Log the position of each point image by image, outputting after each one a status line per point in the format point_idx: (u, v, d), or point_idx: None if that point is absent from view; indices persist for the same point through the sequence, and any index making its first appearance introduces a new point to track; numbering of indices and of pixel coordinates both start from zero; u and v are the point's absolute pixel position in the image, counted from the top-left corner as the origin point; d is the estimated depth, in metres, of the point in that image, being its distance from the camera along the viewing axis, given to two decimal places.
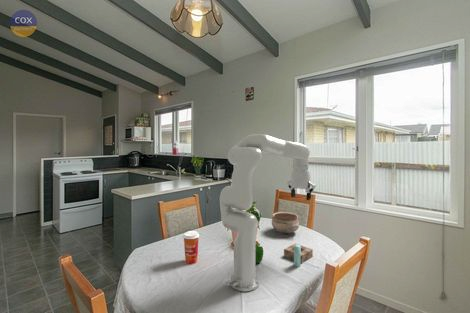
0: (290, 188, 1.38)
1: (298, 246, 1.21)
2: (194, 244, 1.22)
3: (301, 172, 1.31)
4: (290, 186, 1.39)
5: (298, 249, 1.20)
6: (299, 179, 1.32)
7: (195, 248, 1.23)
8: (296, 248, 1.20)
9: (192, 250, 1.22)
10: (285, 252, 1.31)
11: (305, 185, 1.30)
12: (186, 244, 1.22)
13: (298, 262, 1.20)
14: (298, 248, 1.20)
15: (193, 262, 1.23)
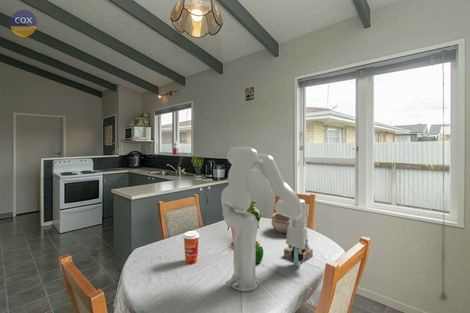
0: (290, 249, 1.23)
1: None
2: (194, 244, 1.22)
3: (298, 230, 1.18)
4: (290, 245, 1.23)
5: (298, 249, 1.20)
6: (295, 237, 1.19)
7: (195, 248, 1.23)
8: (296, 248, 1.20)
9: (192, 250, 1.22)
10: (285, 252, 1.31)
11: (302, 245, 1.16)
12: (186, 244, 1.22)
13: (298, 262, 1.20)
14: (298, 248, 1.20)
15: (193, 262, 1.23)
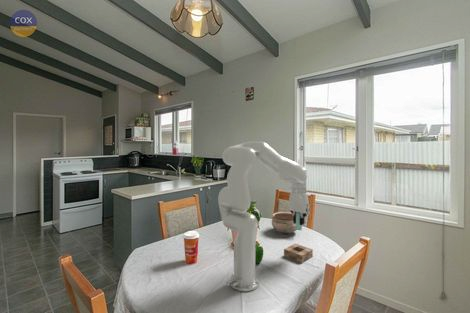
0: (292, 214, 1.32)
1: None
2: (194, 244, 1.22)
3: (299, 195, 1.27)
4: (292, 211, 1.32)
5: (300, 214, 1.29)
6: (297, 202, 1.27)
7: (195, 248, 1.23)
8: (298, 213, 1.29)
9: (192, 250, 1.22)
10: (285, 252, 1.31)
11: (303, 209, 1.25)
12: (186, 244, 1.22)
13: (300, 226, 1.29)
14: None
15: (193, 262, 1.23)
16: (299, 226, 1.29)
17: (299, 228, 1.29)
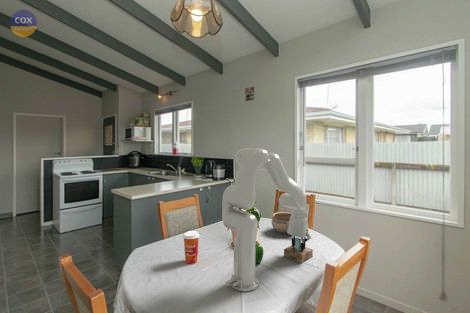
0: None
1: (299, 238, 1.31)
2: (194, 244, 1.22)
3: (299, 220, 1.27)
4: None
5: (299, 241, 1.30)
6: (297, 227, 1.28)
7: (195, 248, 1.23)
8: (297, 240, 1.30)
9: (192, 250, 1.22)
10: (285, 252, 1.31)
11: (303, 234, 1.26)
12: (186, 244, 1.22)
13: None
14: (299, 240, 1.30)
15: (193, 262, 1.23)
16: None
17: None
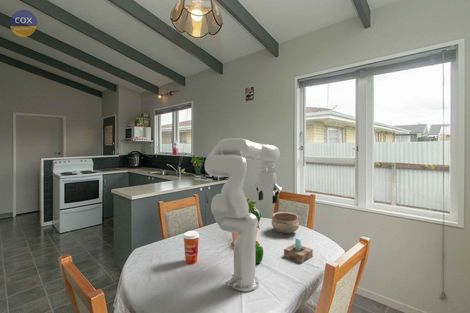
0: None
1: (299, 238, 1.31)
2: (194, 244, 1.22)
3: (267, 174, 1.27)
4: (258, 189, 1.34)
5: (299, 241, 1.30)
6: (265, 182, 1.28)
7: (195, 248, 1.23)
8: (297, 240, 1.30)
9: (192, 250, 1.22)
10: (285, 252, 1.31)
11: (271, 188, 1.25)
12: (186, 244, 1.22)
13: None
14: (299, 240, 1.30)
15: (193, 262, 1.23)
16: None
17: None
